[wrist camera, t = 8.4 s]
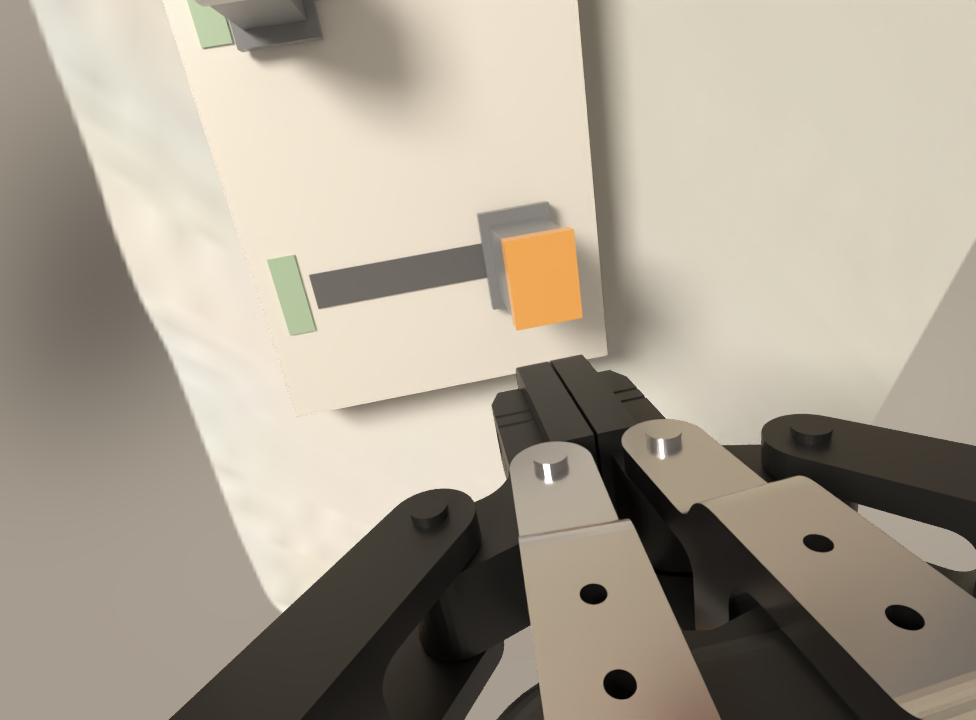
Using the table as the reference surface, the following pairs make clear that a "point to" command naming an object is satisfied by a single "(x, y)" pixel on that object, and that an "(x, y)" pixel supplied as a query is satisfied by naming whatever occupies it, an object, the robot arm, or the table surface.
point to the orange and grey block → (530, 265)
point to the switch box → (397, 184)
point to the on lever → (269, 22)
